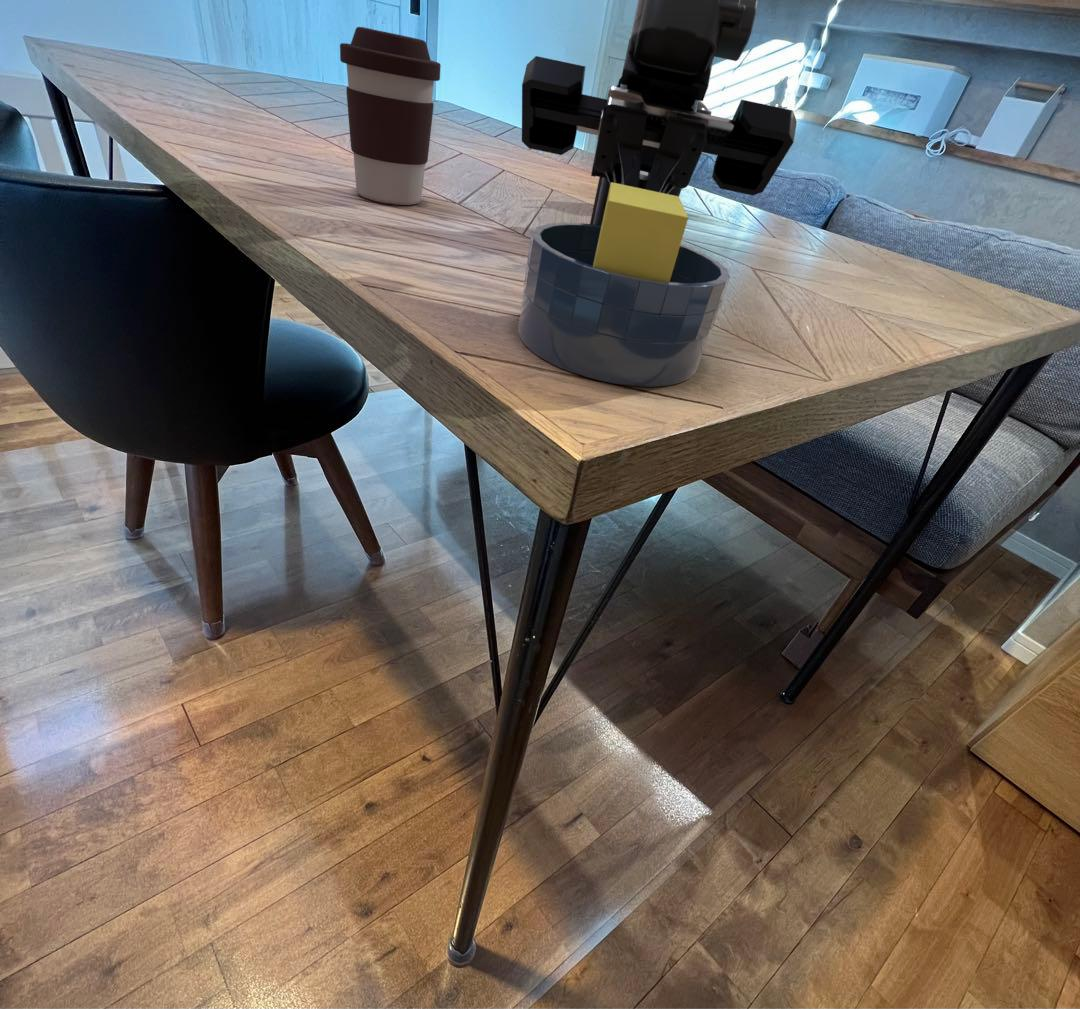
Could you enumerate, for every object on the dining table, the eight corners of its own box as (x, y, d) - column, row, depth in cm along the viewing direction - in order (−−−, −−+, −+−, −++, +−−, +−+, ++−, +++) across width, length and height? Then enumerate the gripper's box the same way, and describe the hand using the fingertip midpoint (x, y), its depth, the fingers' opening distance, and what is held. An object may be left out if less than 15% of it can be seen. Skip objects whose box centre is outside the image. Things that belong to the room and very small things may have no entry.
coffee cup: (390, 212, 62) (393, 34, 53) (324, 189, 66) (316, 17, 57) (450, 206, 70) (461, 48, 61) (388, 185, 73) (390, 32, 64)
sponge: (587, 290, 42) (610, 181, 38) (648, 303, 42) (679, 196, 38) (581, 323, 36) (608, 200, 32) (652, 338, 36) (688, 217, 32)
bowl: (483, 315, 43) (494, 220, 39) (616, 305, 50) (636, 224, 46) (594, 399, 35) (622, 290, 31) (734, 373, 42) (770, 282, 38)
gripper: (550, -113, 35) (495, 116, 33) (855, -48, 35) (820, 184, 33) (543, 53, 46) (501, 233, 44) (775, 103, 46) (745, 284, 44)
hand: (631, 235), depth 41 cm, fingers closed
